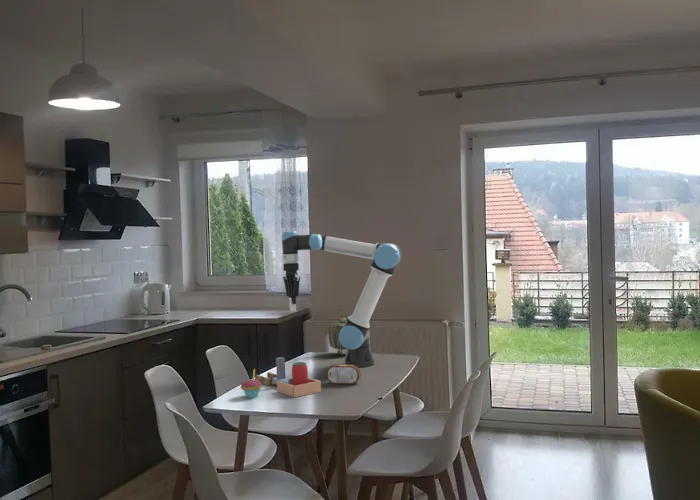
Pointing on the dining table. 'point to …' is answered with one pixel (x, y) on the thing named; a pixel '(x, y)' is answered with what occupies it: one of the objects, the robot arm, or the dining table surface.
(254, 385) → the cupcake
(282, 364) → the grey post stand
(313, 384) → the cup corral
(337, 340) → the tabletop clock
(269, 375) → the launcher rail
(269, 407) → the dining table surface
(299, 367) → the beer can
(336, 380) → the tin
